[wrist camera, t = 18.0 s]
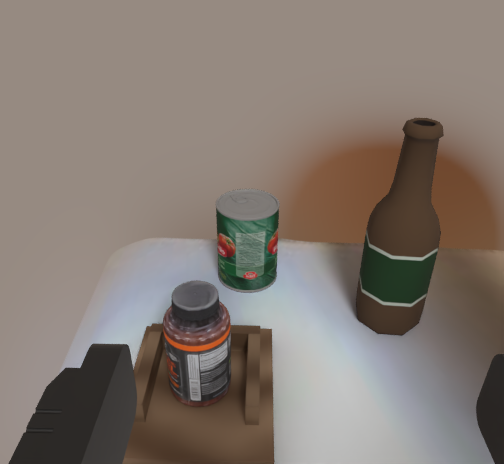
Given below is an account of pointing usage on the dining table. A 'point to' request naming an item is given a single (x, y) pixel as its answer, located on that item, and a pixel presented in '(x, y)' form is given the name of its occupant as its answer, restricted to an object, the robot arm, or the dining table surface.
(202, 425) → the walnut dock
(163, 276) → the dining table surface
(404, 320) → the beer bottle
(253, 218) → the canned tomato
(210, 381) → the supplement bottle
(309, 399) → the dining table surface
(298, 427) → the dining table surface
